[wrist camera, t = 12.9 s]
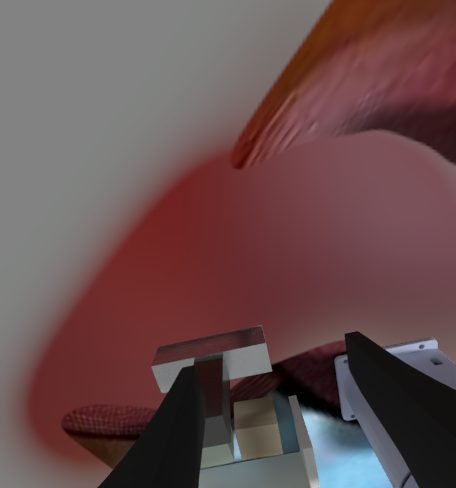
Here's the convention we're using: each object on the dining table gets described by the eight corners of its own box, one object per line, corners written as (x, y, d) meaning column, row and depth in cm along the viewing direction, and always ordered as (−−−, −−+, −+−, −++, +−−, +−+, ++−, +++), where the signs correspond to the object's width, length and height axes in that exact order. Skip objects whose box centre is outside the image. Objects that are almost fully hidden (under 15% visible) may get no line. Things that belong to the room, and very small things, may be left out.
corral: (295, 395, 26) (312, 447, 21) (308, 455, 28) (325, 513, 23) (167, 420, 26) (155, 476, 22) (190, 476, 29) (183, 537, 24)
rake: (261, 325, 24) (279, 401, 16) (267, 351, 24) (287, 435, 17) (158, 346, 24) (127, 430, 16) (167, 371, 25) (142, 462, 17)
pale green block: (223, 403, 26) (223, 432, 23) (233, 430, 27) (234, 461, 24) (186, 411, 26) (182, 441, 24) (197, 438, 28) (194, 469, 25)
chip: (272, 395, 26) (277, 423, 23) (277, 423, 27) (283, 454, 24) (233, 401, 26) (234, 430, 23) (240, 429, 27) (242, 460, 24)
